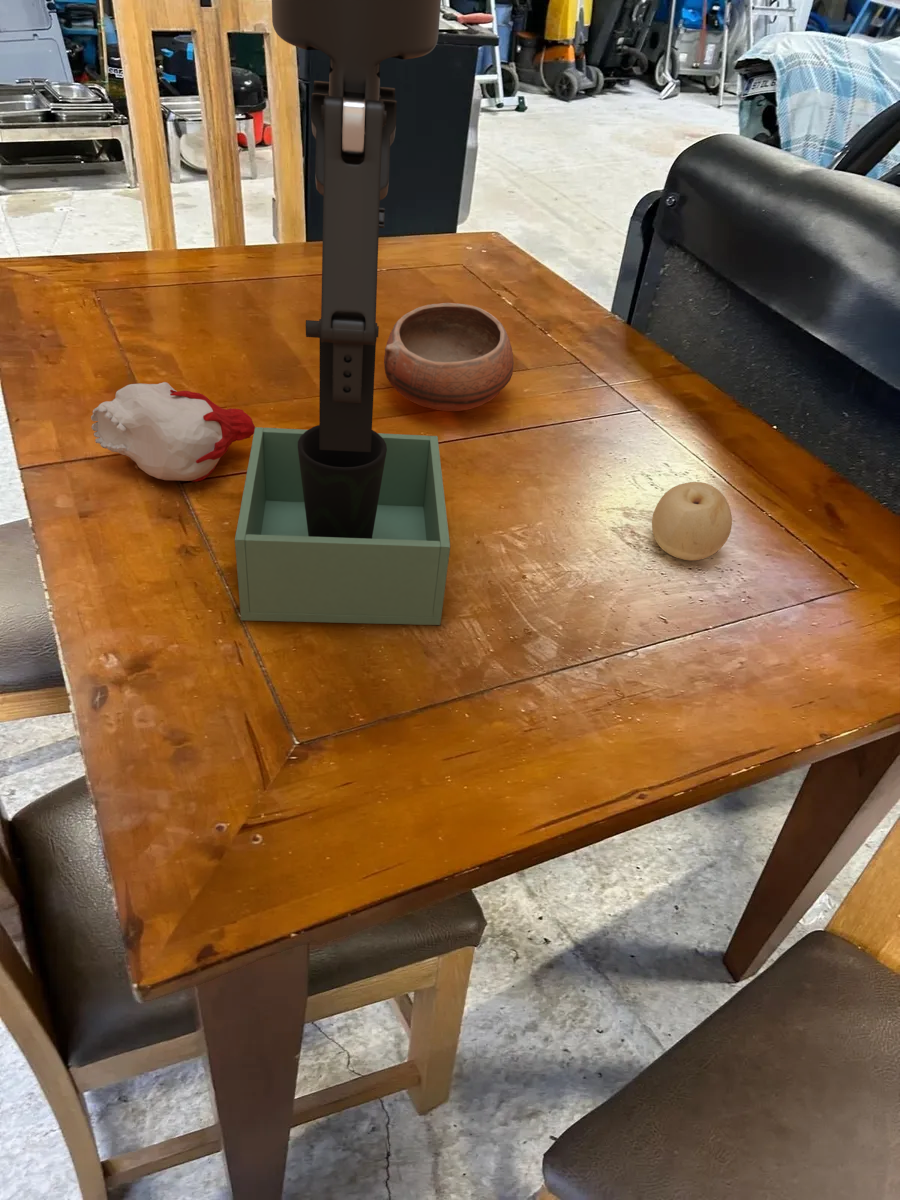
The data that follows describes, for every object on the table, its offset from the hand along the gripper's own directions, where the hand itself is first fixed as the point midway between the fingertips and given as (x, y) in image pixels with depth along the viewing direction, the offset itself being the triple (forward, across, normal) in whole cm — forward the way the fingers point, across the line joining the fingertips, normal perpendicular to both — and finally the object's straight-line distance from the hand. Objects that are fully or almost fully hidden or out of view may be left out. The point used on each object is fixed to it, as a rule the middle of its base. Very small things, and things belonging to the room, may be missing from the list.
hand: (347, 386), depth 52 cm
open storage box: (+29, +19, 0) cm, 34 cm away
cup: (+28, +19, 0) cm, 34 cm away
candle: (+29, +34, +17) cm, 48 cm away
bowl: (+29, +52, -12) cm, 61 cm away
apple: (+29, +23, -35) cm, 51 cm away
